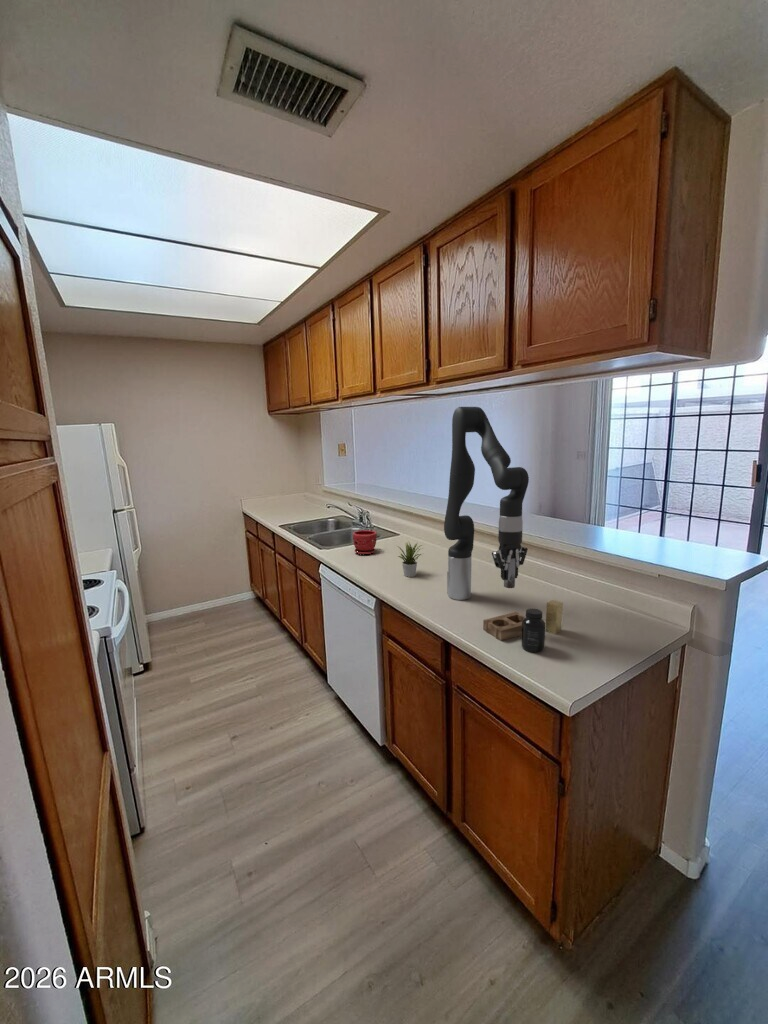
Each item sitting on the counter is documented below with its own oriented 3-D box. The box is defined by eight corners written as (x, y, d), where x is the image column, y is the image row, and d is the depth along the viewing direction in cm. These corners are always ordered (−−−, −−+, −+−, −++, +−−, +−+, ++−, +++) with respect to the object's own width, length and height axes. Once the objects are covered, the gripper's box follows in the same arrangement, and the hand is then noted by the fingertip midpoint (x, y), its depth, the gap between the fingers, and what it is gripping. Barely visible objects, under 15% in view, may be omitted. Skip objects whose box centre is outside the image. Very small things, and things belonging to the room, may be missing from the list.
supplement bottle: (549, 648, 131) (551, 612, 129) (535, 655, 128) (537, 618, 125) (530, 640, 137) (531, 605, 135) (516, 646, 133) (517, 610, 131)
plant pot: (377, 556, 233) (376, 534, 231) (353, 556, 233) (352, 535, 230) (377, 549, 246) (376, 529, 243) (354, 550, 246) (353, 529, 243)
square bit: (545, 630, 143) (546, 602, 141) (551, 627, 145) (552, 599, 143) (555, 634, 140) (557, 605, 138) (561, 631, 143) (562, 602, 141)
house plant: (433, 576, 199) (433, 542, 196) (411, 583, 190) (410, 547, 187) (413, 568, 210) (413, 536, 207) (391, 575, 202) (390, 541, 199)
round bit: (501, 585, 144) (502, 557, 142) (509, 583, 146) (510, 555, 144) (508, 588, 141) (509, 559, 139) (517, 586, 142) (518, 558, 141)
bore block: (482, 629, 145) (482, 620, 144) (515, 621, 151) (515, 611, 150) (500, 641, 137) (500, 631, 136) (534, 631, 143) (534, 621, 142)
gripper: (518, 524, 146) (517, 572, 149) (485, 529, 140) (485, 579, 143) (535, 528, 139) (533, 578, 143) (501, 533, 133) (500, 585, 136)
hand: (509, 578), depth 143 cm, fingers closed on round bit, 3 cm apart
